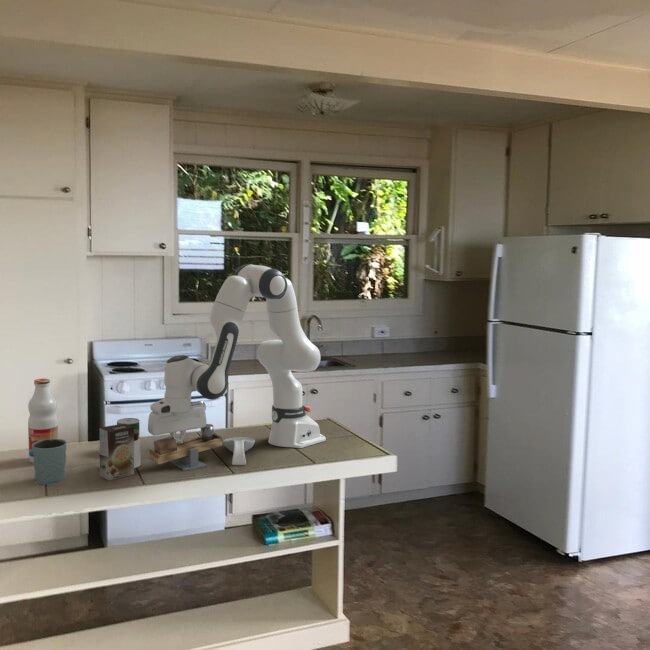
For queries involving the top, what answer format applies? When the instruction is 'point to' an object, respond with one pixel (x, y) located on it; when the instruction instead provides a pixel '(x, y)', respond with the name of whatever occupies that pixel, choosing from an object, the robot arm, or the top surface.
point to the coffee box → (116, 451)
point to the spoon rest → (239, 448)
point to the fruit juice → (42, 415)
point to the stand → (189, 461)
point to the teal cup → (49, 460)
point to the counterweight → (207, 433)
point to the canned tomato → (130, 422)
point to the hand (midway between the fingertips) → (177, 443)
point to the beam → (186, 449)
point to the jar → (136, 448)
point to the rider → (165, 445)
